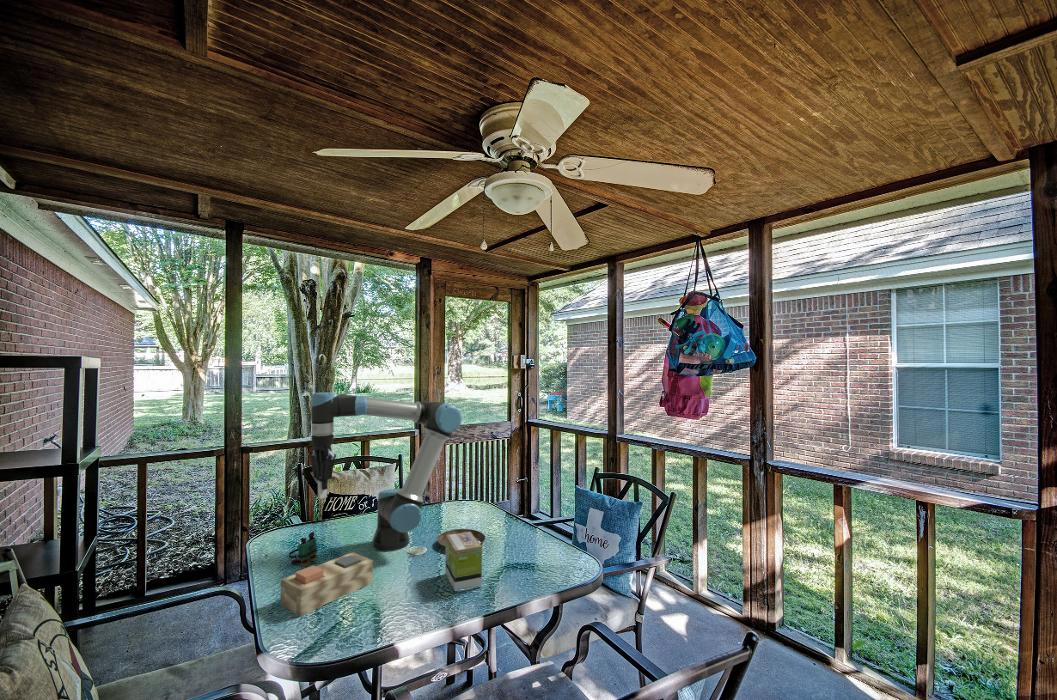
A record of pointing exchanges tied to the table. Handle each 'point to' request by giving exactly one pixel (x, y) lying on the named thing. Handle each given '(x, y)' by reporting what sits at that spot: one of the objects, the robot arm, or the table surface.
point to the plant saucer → (476, 534)
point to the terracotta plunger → (309, 575)
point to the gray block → (347, 561)
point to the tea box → (463, 561)
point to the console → (325, 585)
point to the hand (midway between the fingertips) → (322, 497)
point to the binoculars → (305, 551)
